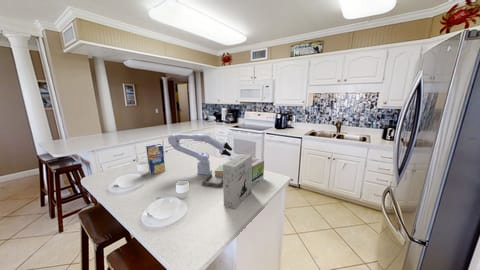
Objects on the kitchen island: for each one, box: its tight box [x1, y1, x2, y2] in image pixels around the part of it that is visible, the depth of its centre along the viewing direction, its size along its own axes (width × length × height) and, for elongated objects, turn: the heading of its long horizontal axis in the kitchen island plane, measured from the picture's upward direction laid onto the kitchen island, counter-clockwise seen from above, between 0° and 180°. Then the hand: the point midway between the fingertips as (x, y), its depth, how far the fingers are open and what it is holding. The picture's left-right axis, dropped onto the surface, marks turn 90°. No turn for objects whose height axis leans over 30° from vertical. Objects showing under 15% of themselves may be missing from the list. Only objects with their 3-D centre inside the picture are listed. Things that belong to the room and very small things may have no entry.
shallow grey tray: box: [201, 172, 223, 189], centre depth 130 cm, size 13×15×2 cm
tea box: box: [252, 157, 265, 187], centre depth 130 cm, size 15×10×15 cm, turn 143°
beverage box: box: [146, 143, 166, 175], centre depth 145 cm, size 7×11×22 cm, turn 129°
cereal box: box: [222, 153, 253, 210], centre depth 106 cm, size 22×8×25 cm, turn 151°
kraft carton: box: [214, 164, 223, 178], centre depth 143 cm, size 8×12×5 cm, turn 171°
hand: (231, 152), depth 144 cm, fingers open, 7 cm apart
